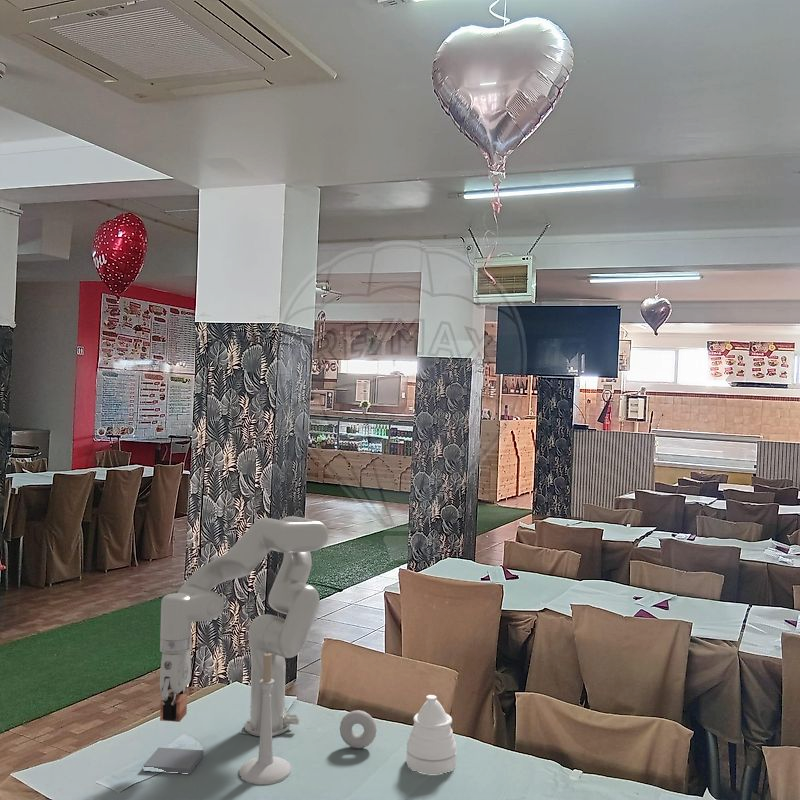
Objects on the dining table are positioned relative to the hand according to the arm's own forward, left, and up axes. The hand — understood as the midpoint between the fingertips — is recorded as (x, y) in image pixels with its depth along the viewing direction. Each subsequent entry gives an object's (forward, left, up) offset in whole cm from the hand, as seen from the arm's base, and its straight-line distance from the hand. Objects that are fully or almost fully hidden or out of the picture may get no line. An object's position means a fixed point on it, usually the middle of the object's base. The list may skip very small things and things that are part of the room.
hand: (173, 714), depth 201 cm
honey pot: (-65, -9, -13) cm, 67 cm away
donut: (-45, -15, -13) cm, 49 cm away
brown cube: (0, 0, -1) cm, 1 cm away
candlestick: (-24, +1, -13) cm, 27 cm away
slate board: (0, 0, -13) cm, 13 cm away
